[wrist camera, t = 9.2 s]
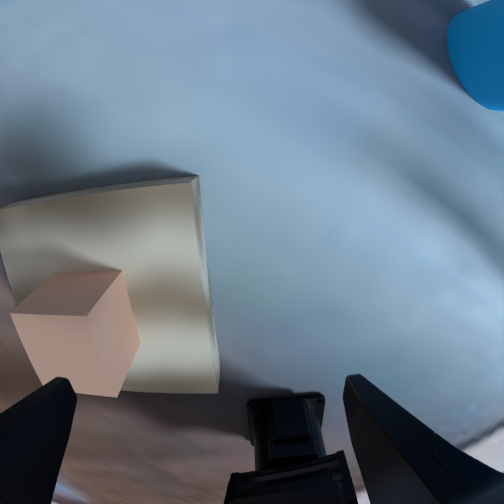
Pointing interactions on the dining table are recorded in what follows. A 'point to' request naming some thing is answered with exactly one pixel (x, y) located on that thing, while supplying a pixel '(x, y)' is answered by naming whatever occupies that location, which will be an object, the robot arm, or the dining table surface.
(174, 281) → the plinth
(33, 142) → the dining table surface
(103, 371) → the cube
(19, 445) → the robot arm
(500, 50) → the mug
